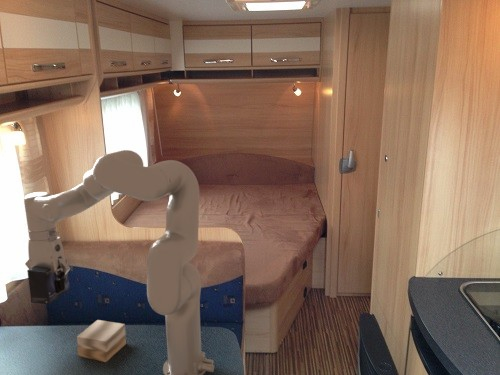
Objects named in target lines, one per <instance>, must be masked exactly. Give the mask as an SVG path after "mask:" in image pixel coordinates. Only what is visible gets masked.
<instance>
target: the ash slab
mask: <svg viewBox="0 0 500 375" xmlns="http://www.w3.org/2000/svg"><path fill="white" fill-rule="evenodd" d="M126 334H127V333H126V324H125V323H121V322H114V321H107V320H101V319H97V320H95V321H94V322H93V323H91V324H90V325H89V326H88V327H86V328H85V329H84V331H82V332H80V333H79V334H78V335H77V336H76V340H77V347H81V348H86V349H92V350H97V351H103V352H108V351H109V350H110V349H111V348H112V347H113V346H114V345H115V344H116V343H117V342H118V341H119V340H120V339H121V338H122V337H123V336H124V335H125V336H126Z"/></svg>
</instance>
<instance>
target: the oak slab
mask: <svg viewBox="0 0 500 375" xmlns="http://www.w3.org/2000/svg"><path fill="white" fill-rule="evenodd" d="M126 344H127V342H126V334H125V335H124V336H123V337H122V338H121V339H120V340H119V341H118V342H117V343H116V344H115V345H114V346H113V347H112V348H111V349H110V350H109V351H108V352H103V351H97V350H92V349H86V348H81V347H78V346H76V347H77V355H78V356H77V357H83V358H87V359H90V360H93V361H99V362H102V363H103V362H104V363H107V362H108V361H109V360H110V359H111V358H112V357H114V355H115V354H116V353H118V352H119V351H120V350H121V349H122V348H123V347H124V346H125V345H126Z"/></svg>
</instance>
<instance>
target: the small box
mask: <svg viewBox="0 0 500 375" xmlns="http://www.w3.org/2000/svg"><path fill="white" fill-rule="evenodd" d="M66 264H67V260H66ZM67 265H68V264H67ZM57 269H58V267H57ZM62 270H63V268H62ZM26 272H27V279H28V286H29V294H30V302H31V303H32V304H42V305H50V304H51V303H53V302H54V301H55V300H57V299H58V298H60V297H61V296H63V295H64V294H65V293H67V292H68V291H69V290H70V281H69V272H68V273H67V275H66V276H65V277H64V284H65V289H64V290H63V291H61V292H59V293H56V290H55V280H56V279H55V277H54V273H53V272H52V271H51V269H50V268H45V267H38V266H34V267H32V268H30V269H29V268H28V269H27V271H26ZM57 273H58V275H59V274H60V273H59V271H57Z"/></svg>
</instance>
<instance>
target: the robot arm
mask: <svg viewBox="0 0 500 375" xmlns="http://www.w3.org/2000/svg"><path fill="white" fill-rule="evenodd" d="M190 168H191V167H189V166H187V164H185V163H183V162H181V161H178V160H176V159H174V160H173V159H169V160H164V161H163V160H162V161H159V162H157V163H153V164H151V165H148V166H144V161H143V159H142V157H141V155H139V154H138V153H137V152H135V151H133V150H129V149H126V150H124V149H123V150H119V151H114V152H111V153H107V154H103V155H102V156H100V157H98V159H96V161H95V163H94V165H93V168H90V170H88V171H86V172H85V173H84V175H83V177H82V178H83V179H82V183H80V184H78V185H77V186H75V187H73V188H72V189H68V190H65V191H62V192H59V193H56V194H51V193H50V192H47V191H36V192H31V193H28V194H26V195H25V196H24V199H23V204H24V209H25V210H24V211H25V217H26V225H27V230H28V231H27V232H28V238H29V239H28V245H27V246H28V247H27V248H28V250H27V251H28V252H27V253H28V260H27V261H26V262H25V266H26V267H27V269H28V270H29V269H30V268H32V267H34V266H38V267H45V268H50V269H51V271H52V272H53V273H54V277H55V279H56V280H55V290H56V293H59V292H61V291H63V290H64V289H65V284H64V277H65V276H66V275H67V273H68V274H69V271H70V270H71V267H70V266H69V264H66V261H67V259H66V254H65V251H64V250H65V249H64V246H63V243H62V240H61V237H60V236H59V232H58V230H57V223H58V222H61V221H64V220H66V219H68V218H71V217H74V216H76V215H78V214H80V213H83V212H85V211H86V210H88V209H89V208H91V207H94V206H95V205H97V204H98V203H100V202H101V201H102V200H104V199H106V198H107V197H108V196H110V195H112V194H113V193H118V194H120V195H124V196H126V197H127V196H128V197H131V198H133V199H136V200H139V201H144V202H154V201H158V200H160V199H162V198H164V197H166V196H168V197H169V198H168V199H169V200H168V204H167V207H166V212H165V230H164V233H163V235H162V236H160V237H159V238H158V239H156V240H155V241H154V242H153V243H152V245H150V247H149V250H148V252H147V258H146V296H147V301H148V303H149V306H150V307H151V309H152V310H153V311H154V312H155V313H157V314H159V315H161V316H164V317H165V332H166V333H165V334H166V348H167V349H166V350H167V360H166V361H165V362H164V363H163V365H162V366H163V367H162V373H163V375H205V374H206V372H209V373H214V370H215V365H214V364H215V363H214V361H215V360H214V359H208V358H207V357H206V352H205V351H202V337H201V336H202V332H201V311H200V310H201V308H200V306H201V305H200V302H201V301H200V300H201V291H202V278H201V274H200V272H199V270H198V268H197V267H196V266H195V265H194V264H192V263H191V262H190V261H192V259H194V258H195V256H196V255H197V253H198V249H199V227H200V226H199V225H200V224H199V217H200V215H199V214H200V213H199V212H200V185H199V182H198V179H197V177H196V175H195V173H194V172H193V170H191V169H190ZM57 267H58V269H57ZM62 268H63V270H62ZM57 271H59V273H60V274H59V275H58V273H57Z"/></svg>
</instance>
